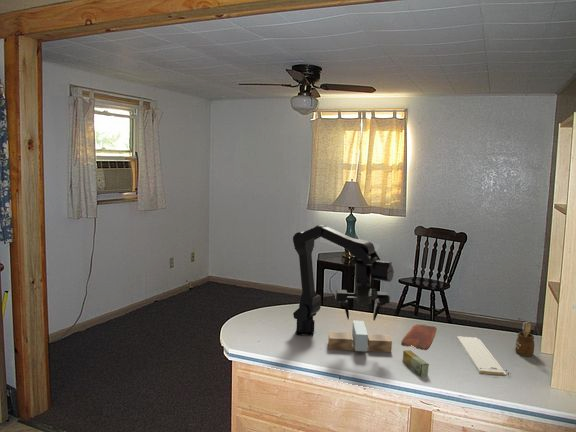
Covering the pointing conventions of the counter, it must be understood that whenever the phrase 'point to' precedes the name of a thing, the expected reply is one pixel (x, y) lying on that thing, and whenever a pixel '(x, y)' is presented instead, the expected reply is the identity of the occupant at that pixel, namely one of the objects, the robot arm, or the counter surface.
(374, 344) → the notched beam
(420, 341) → the wooden tablet
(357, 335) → the pale blue block
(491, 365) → the baseboard
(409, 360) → the medication box
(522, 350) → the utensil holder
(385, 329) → the counter surface
